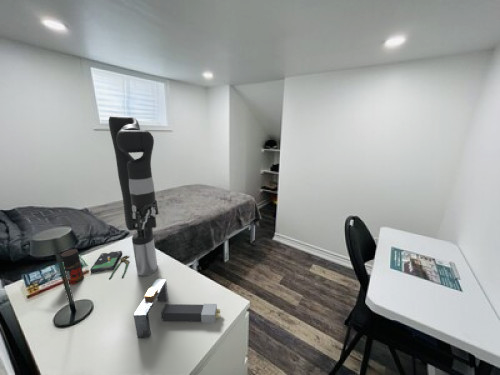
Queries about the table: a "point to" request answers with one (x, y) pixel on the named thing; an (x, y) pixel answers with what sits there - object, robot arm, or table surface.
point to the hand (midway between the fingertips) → (147, 232)
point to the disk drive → (106, 262)
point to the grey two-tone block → (190, 313)
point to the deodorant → (72, 266)
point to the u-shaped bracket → (149, 307)
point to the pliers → (119, 265)
